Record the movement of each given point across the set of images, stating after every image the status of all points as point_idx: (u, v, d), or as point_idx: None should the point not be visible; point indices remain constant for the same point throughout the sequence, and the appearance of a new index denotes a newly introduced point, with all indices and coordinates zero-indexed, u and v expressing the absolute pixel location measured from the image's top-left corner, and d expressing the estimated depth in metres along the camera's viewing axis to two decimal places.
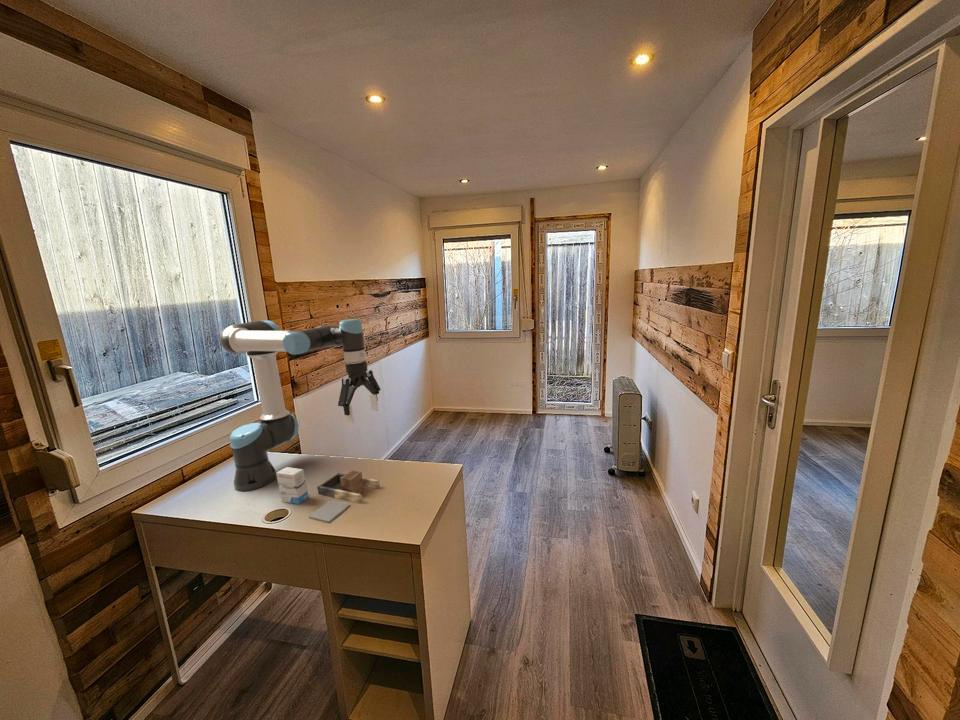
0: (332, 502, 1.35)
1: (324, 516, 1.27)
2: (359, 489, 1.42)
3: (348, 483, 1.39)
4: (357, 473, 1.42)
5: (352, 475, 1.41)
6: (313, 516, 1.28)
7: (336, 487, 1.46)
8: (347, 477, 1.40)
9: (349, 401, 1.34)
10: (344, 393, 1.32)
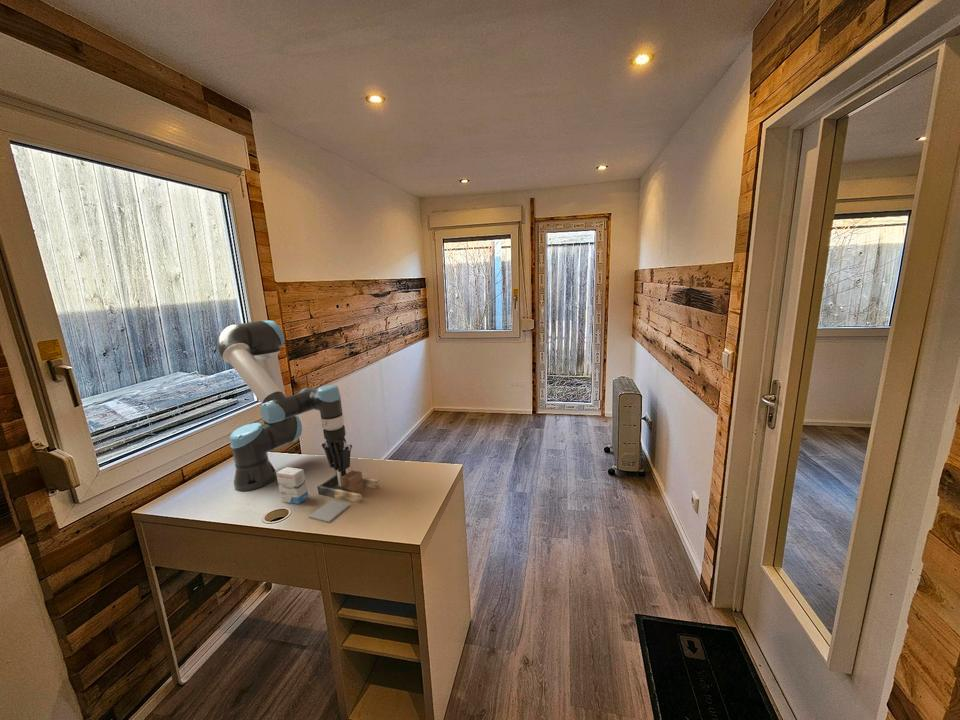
0: (332, 502, 1.35)
1: (324, 516, 1.27)
2: (359, 489, 1.42)
3: (348, 483, 1.39)
4: (357, 473, 1.42)
5: (352, 475, 1.41)
6: (313, 516, 1.28)
7: (336, 487, 1.46)
8: (347, 477, 1.40)
9: (334, 465, 1.42)
10: None
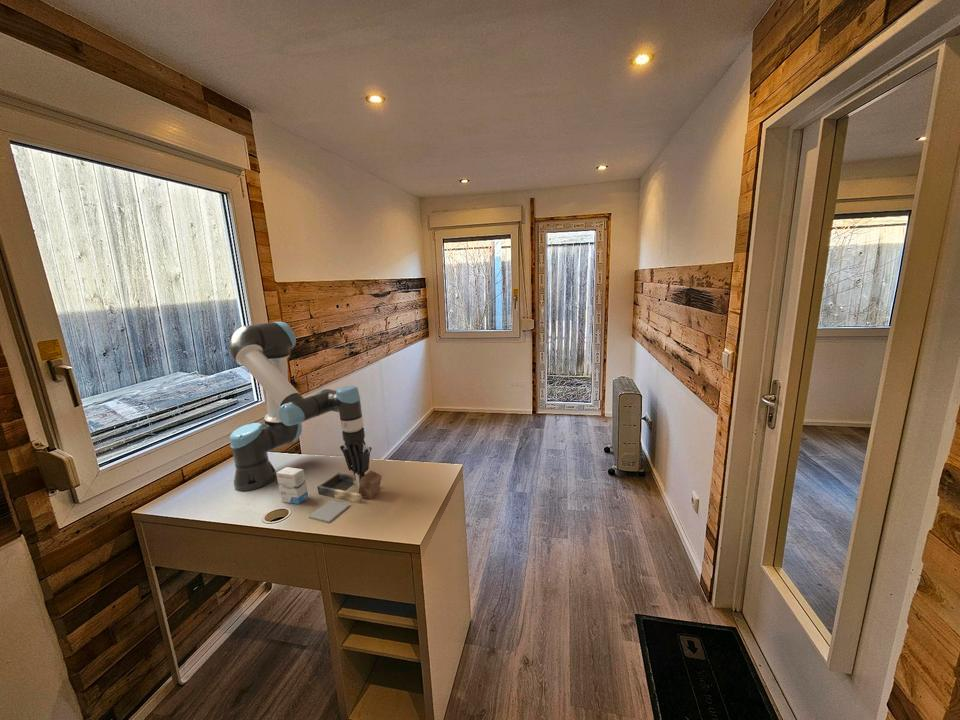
0: (332, 502, 1.35)
1: (324, 516, 1.27)
2: (375, 492, 1.40)
3: (368, 486, 1.35)
4: (377, 476, 1.39)
5: (373, 477, 1.38)
6: (313, 516, 1.28)
7: (336, 487, 1.46)
8: (368, 479, 1.36)
9: (353, 468, 1.38)
10: None
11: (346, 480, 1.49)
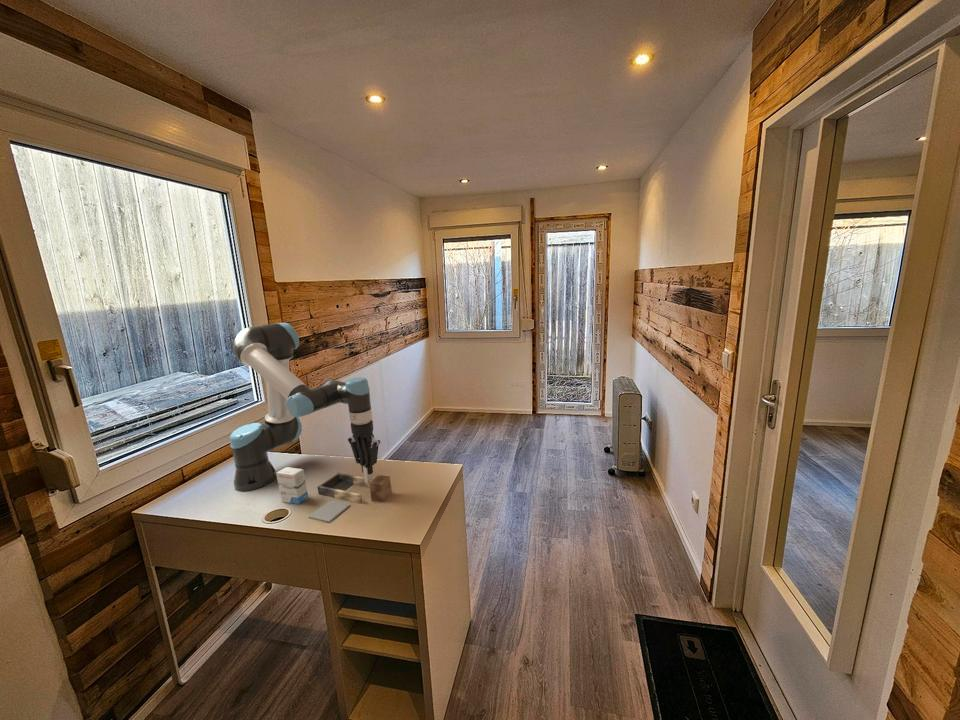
0: (332, 502, 1.35)
1: (324, 516, 1.27)
2: (388, 494, 1.38)
3: (378, 488, 1.34)
4: (385, 477, 1.38)
5: (381, 479, 1.36)
6: (313, 516, 1.28)
7: (336, 487, 1.46)
8: (377, 482, 1.35)
9: (360, 461, 1.36)
10: None
11: (346, 480, 1.49)
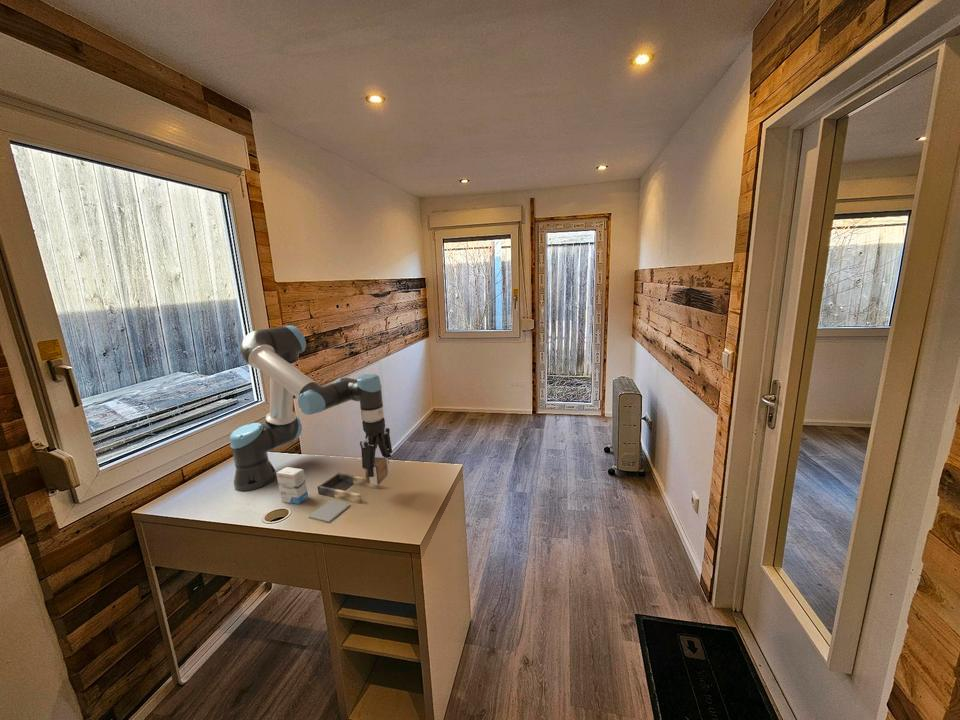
0: (332, 502, 1.35)
1: (324, 516, 1.27)
2: (384, 476, 1.36)
3: None
4: (381, 459, 1.36)
5: (377, 461, 1.35)
6: (313, 516, 1.28)
7: (336, 487, 1.46)
8: None
9: (372, 463, 1.30)
10: (366, 456, 1.27)
11: (346, 480, 1.49)
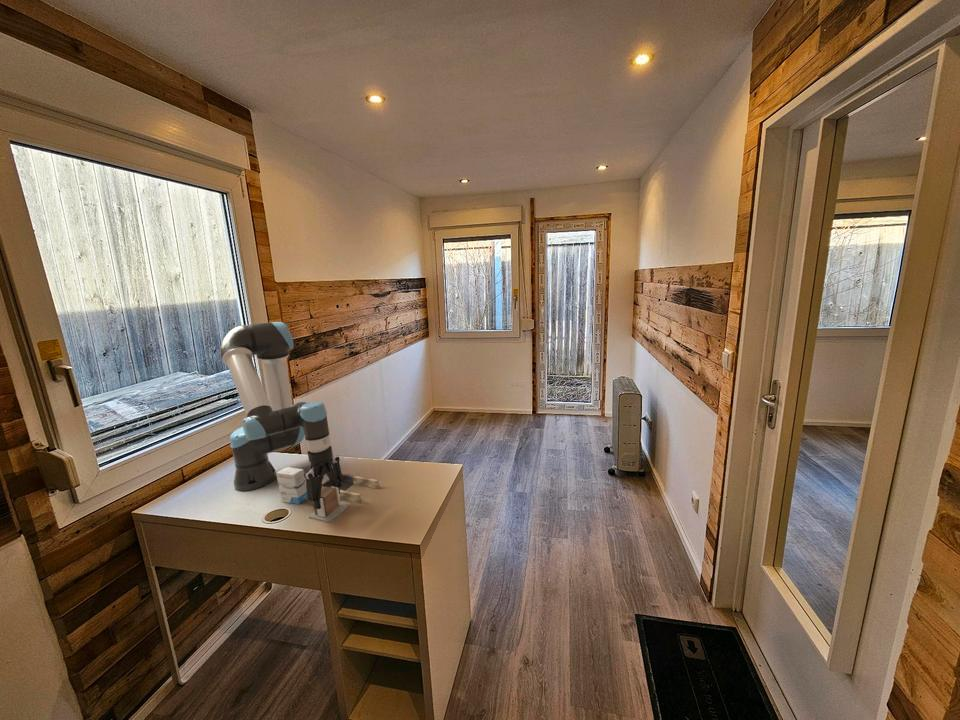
0: None
1: None
2: (333, 506, 1.31)
3: None
4: (331, 489, 1.31)
5: (325, 491, 1.29)
6: (313, 516, 1.28)
7: None
8: None
9: (319, 494, 1.25)
10: (310, 488, 1.22)
11: (346, 480, 1.49)
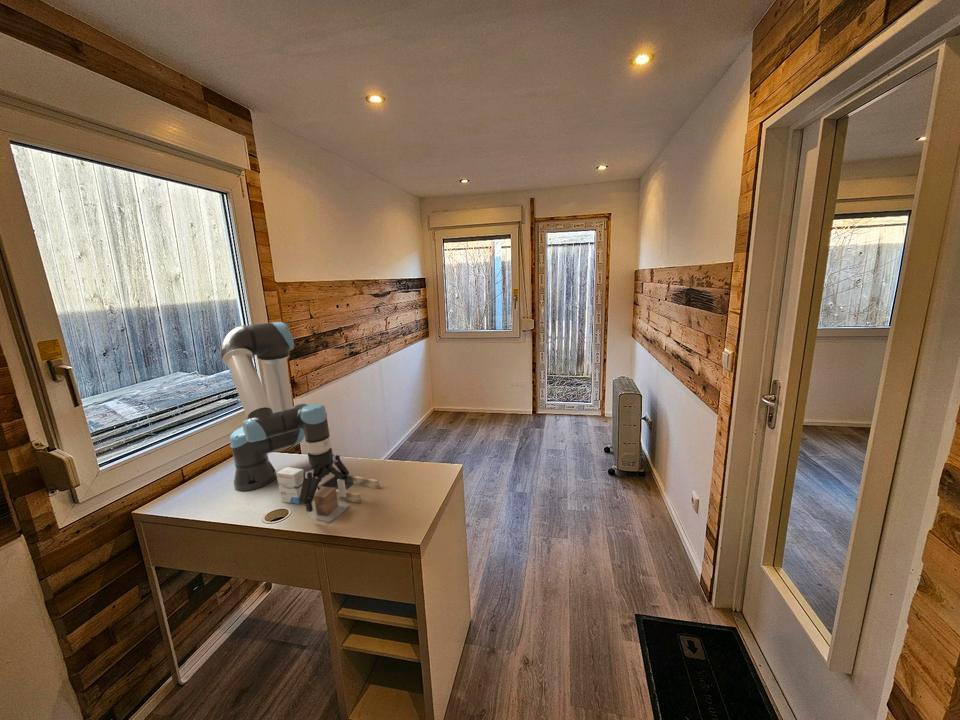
0: None
1: (324, 516, 1.27)
2: (333, 506, 1.31)
3: (321, 501, 1.27)
4: (331, 489, 1.30)
5: (325, 491, 1.29)
6: None
7: (336, 487, 1.46)
8: (320, 494, 1.28)
9: (312, 496, 1.22)
10: (305, 489, 1.20)
11: (346, 480, 1.49)
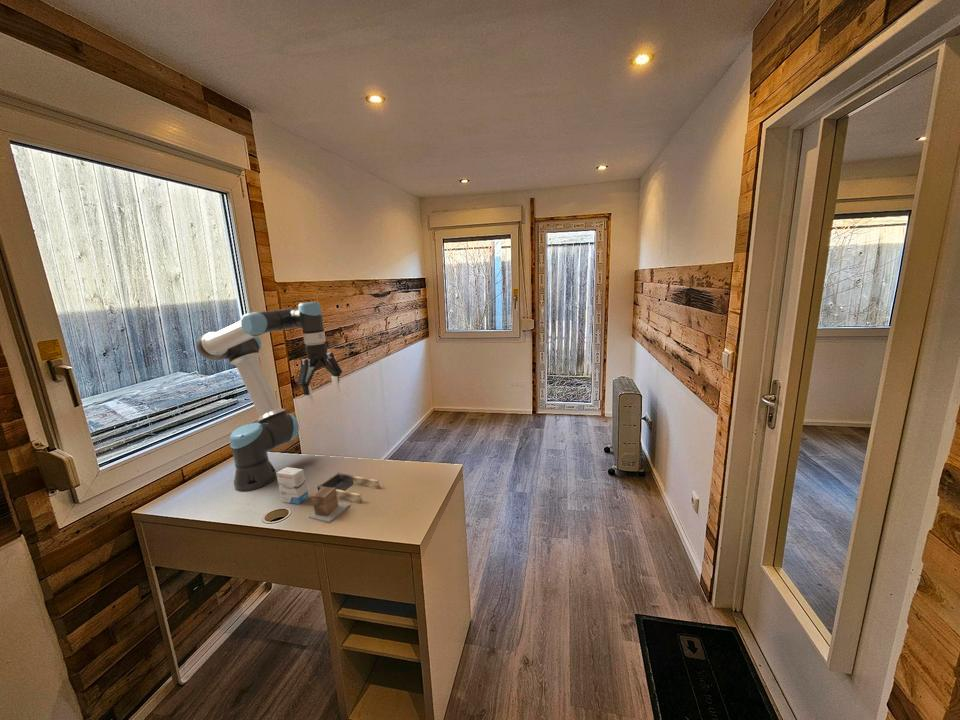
0: None
1: (324, 516, 1.27)
2: (333, 506, 1.31)
3: (321, 501, 1.27)
4: (331, 489, 1.30)
5: (325, 491, 1.29)
6: (313, 516, 1.28)
7: (336, 487, 1.46)
8: (320, 494, 1.28)
9: (308, 381, 1.38)
10: (303, 373, 1.36)
11: (346, 480, 1.49)
